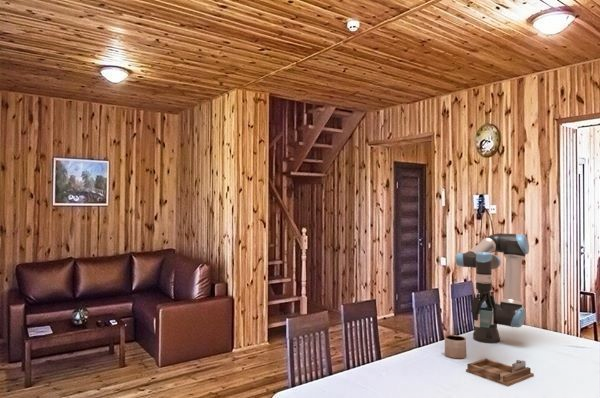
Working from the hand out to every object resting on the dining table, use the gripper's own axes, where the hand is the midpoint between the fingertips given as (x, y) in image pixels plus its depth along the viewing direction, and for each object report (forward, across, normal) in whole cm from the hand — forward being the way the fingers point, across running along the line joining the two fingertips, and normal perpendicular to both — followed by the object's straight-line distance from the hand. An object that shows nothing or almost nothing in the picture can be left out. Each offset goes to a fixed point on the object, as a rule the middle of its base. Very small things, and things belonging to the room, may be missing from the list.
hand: (483, 325), depth 226 cm
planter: (+19, -4, +14) cm, 24 cm away
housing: (+19, -9, -14) cm, 25 cm away
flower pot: (+1, 0, 0) cm, 1 cm away
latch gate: (+17, -4, -21) cm, 28 cm away
